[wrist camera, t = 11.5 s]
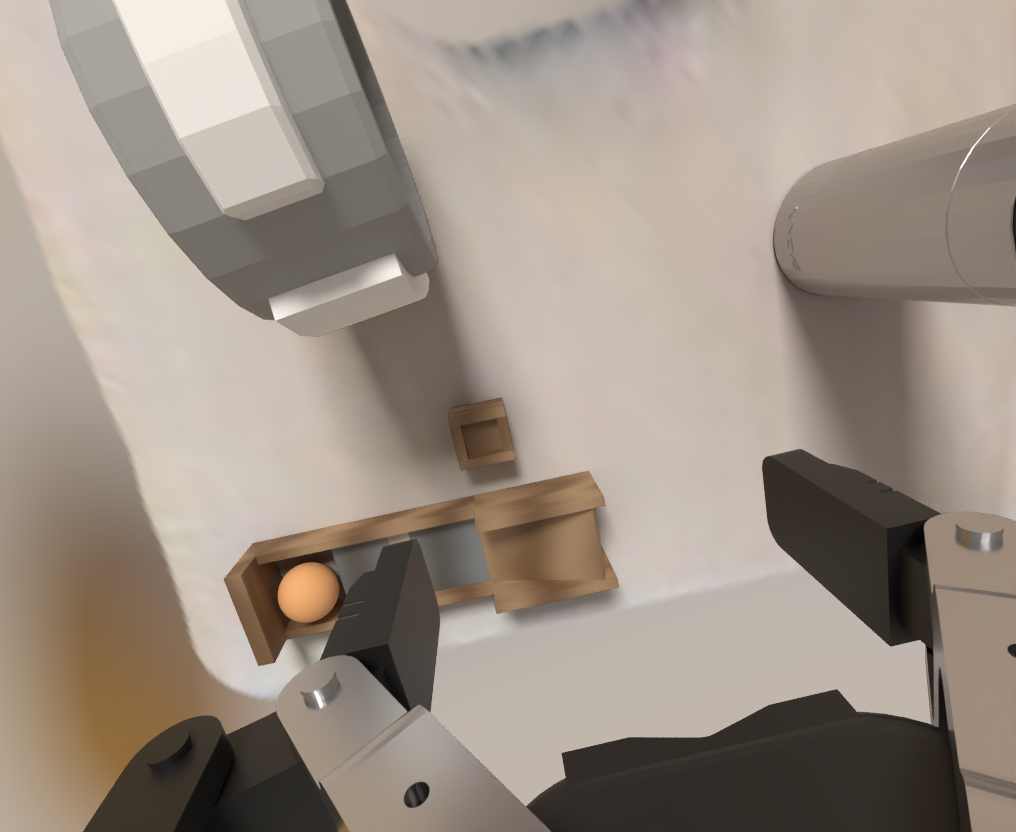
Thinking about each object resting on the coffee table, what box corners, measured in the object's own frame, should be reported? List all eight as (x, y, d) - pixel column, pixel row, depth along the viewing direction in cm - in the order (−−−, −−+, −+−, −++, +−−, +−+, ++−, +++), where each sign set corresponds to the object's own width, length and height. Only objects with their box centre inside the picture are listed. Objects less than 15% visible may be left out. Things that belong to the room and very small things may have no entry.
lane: (588, 470, 41) (603, 496, 36) (602, 552, 43) (619, 587, 38) (252, 543, 41) (223, 579, 36) (282, 622, 43) (258, 665, 38)
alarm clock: (454, 286, 37) (435, 297, 17) (342, 326, 37) (200, 382, 18) (351, 1, 32) (166, -419, 13) (223, 49, 32) (-153, -292, 13)
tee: (501, 397, 39) (504, 406, 37) (512, 446, 40) (515, 459, 38) (449, 408, 39) (448, 418, 37) (461, 457, 40) (460, 470, 38)
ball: (256, 587, 38) (290, 554, 42) (277, 638, 39) (308, 601, 43) (310, 580, 37) (339, 547, 41) (329, 632, 38) (356, 595, 42)
